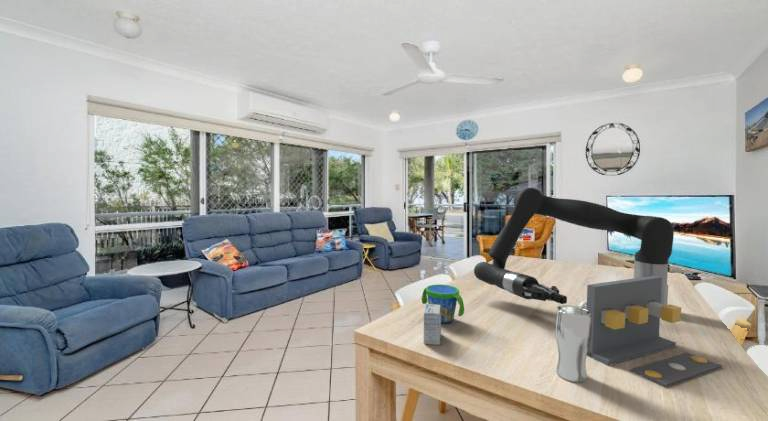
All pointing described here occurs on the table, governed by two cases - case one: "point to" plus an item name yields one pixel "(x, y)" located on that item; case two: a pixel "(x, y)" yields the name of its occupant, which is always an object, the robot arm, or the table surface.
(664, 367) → the pattern card
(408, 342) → the table surface
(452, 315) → the snack cup
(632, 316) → the middle button
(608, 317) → the button
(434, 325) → the medicine box
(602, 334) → the button panel
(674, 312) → the button
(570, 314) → the silver metal cup
